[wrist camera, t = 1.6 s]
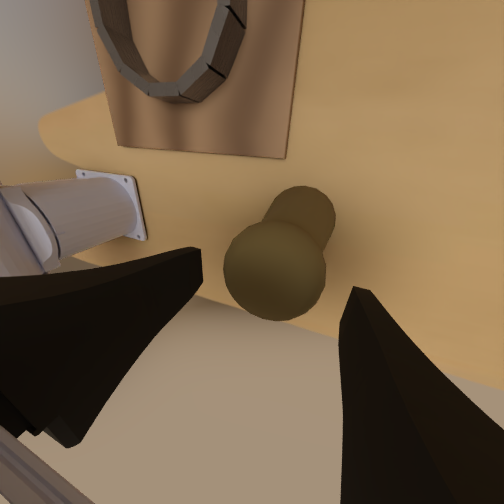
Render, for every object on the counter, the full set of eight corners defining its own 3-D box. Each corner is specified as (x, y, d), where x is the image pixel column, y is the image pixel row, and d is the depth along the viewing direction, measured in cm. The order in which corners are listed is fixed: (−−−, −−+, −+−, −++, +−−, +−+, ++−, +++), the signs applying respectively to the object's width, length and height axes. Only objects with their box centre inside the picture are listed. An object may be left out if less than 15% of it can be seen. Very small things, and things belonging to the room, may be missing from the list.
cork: (275, 253, 20) (226, 335, 11) (261, 194, 18) (185, 236, 9) (339, 246, 18) (344, 347, 9) (331, 177, 16) (324, 211, 6)
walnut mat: (122, 145, 21) (117, 145, 21) (55, -162, 13) (44, -175, 13) (285, 158, 16) (284, 158, 16) (347, -340, 8) (347, -373, 7)
